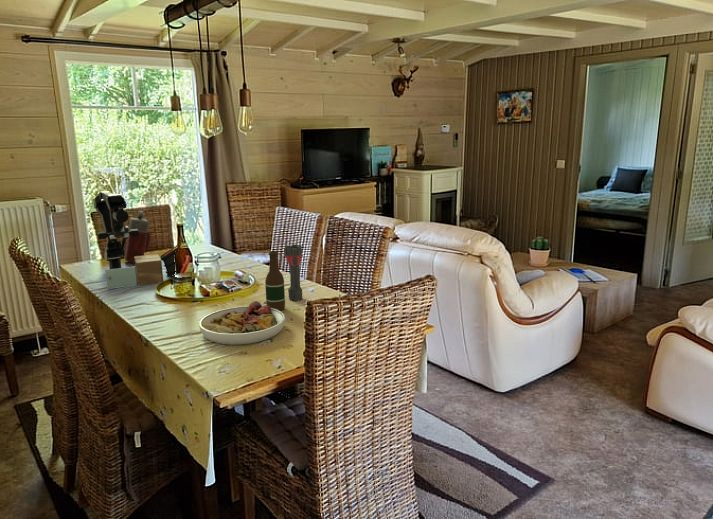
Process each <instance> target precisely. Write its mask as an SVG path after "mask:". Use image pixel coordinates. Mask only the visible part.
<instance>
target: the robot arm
mask: <svg viewBox="0 0 713 519" xmlns="http://www.w3.org/2000/svg"><path fill="white" fill-rule="evenodd" d="M127 205H128V204H127V201H126V199H125V198H124V196H123V195H122V194H121V193H118V194H114V193H113V192H111V191H109V190H102V191H99V192H98V195H96V197H94V198H93V208H94V209H95V212H96V214H98V216H100V218H101V222H102V226H103V229H104V231H98V233H97V239H98V240H106V246H105V247H104V248H105V249H104V254H103V256H104V257H103V258H104V260H105V261H106V262H108V267H109V269H117V268H122V262H121V261H122V260H125V258H124V256H125V246H126V243H127V239H128V238H129V237H128V236H129V235H132V236H140V234H139V230H138V229H130V231H129V230H128V229H129V225H125V222H127V221H128V220H129V219H130V218H129V213H128V212H127V211H125V210H124V209H127ZM118 237H119V238H121V241H120V240H118V239H117V238H118Z"/></svg>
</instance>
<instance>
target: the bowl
mask: <svg viewBox="0 0 713 519" xmlns="http://www.w3.org/2000/svg"><path fill="white" fill-rule="evenodd" d="M285 322H286V315H285V314H284V313H283V311H279V310H276V309H273V308H270V306H268V305H266V304H265V305H262V303H260V301H257V300H255V301H252V302H251V303H250V304H249V305H245V306H244V305H243V306H235V307H228V308H223V309H219V310H217V311H213V312H211V313H209V314H207V315H205V316H203V317H202V318H201V319H200V320H199V324H198V328H199V330H200V333H201V334H202V335H203V337H204V338H205V339H207V340H209V341H210V342H214V343H217V344H221V345H230V346H231V345H233V346H235V345H249V344H250V345H251V344H255V343H260V342H262V341H266V340H269V339H271V338H273V337H274V336H276V335H278V334H279V333H280V332H281V331H282V329H284V327H285Z"/></svg>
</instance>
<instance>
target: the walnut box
mask: <svg viewBox="0 0 713 519" xmlns="http://www.w3.org/2000/svg"><path fill="white" fill-rule="evenodd" d="M134 260H135V262H134V266H137V275H138V286H147V285H153V284H154V283H155V284H160V283H159V282H163V283H164V273H163V265H162V264H163V263H162V262H163V261H162V260H161V257H160V255H159V254H148V255H147V254H144V256H135V257H134Z"/></svg>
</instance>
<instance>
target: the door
mask: <svg viewBox="0 0 713 519" xmlns="http://www.w3.org/2000/svg"><path fill="white" fill-rule="evenodd" d="M104 273H105V281H106V286H107V287H106V288H107V289H108V290H109V289H116V288H125V287H132V286H133V287H134V286H139V284H138V275H137V266H135V265H134V266H127V267H126V266H125V267H121V268H117V269H110V268H109V269H105V270H104Z"/></svg>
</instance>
